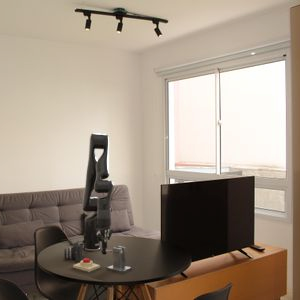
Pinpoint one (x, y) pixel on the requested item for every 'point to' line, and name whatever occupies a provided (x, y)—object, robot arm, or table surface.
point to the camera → (74, 251)
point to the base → (119, 260)
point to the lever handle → (108, 251)
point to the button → (86, 260)
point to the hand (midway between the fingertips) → (104, 248)
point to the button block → (86, 266)
